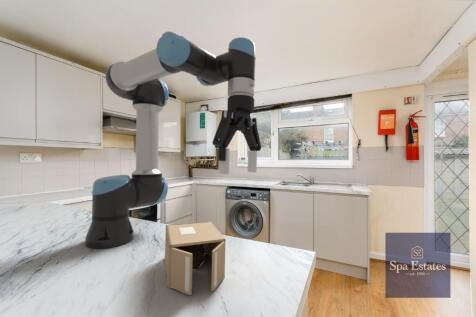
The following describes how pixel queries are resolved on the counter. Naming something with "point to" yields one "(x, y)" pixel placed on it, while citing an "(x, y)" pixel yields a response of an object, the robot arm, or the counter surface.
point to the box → (195, 254)
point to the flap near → (181, 271)
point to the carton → (191, 240)
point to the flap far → (217, 265)
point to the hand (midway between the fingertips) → (239, 173)
